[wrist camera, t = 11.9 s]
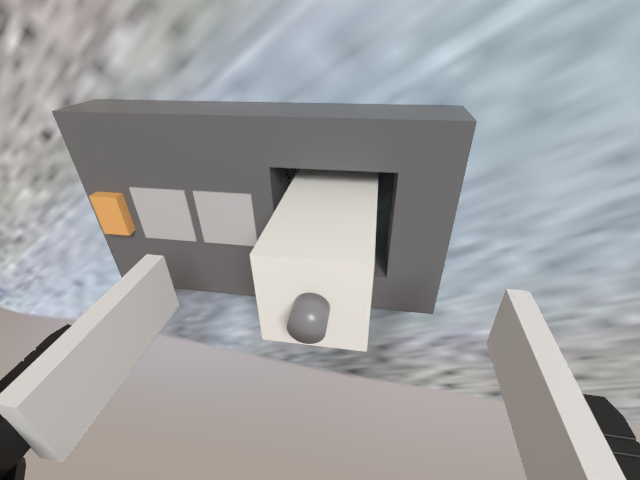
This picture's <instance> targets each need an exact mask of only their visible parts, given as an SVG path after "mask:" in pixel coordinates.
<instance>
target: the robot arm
mask: <svg viewBox="0 0 640 480" xmlns="http://www.w3.org/2000/svg"><path fill="white" fill-rule="evenodd" d="M178 307H179V302H178V299H177V296H176V293H175V290H174V287H173V283H172V280H171V277H170V274H169V271H168V268H167V265H166V261H165V258H164V256H161V255H151V254H146V255H145V256H144V257H143V258H142V259H141V260H140V261H139V262H138V263H137V264H136V265H135V266H134V267H133V268H132V269H131V270H130V271H128V272H127V273H126V274H125V275H124V276H123V277H122V278H121V279H120V280H119V281H118V282H117V283H116V284H115V285H114V286H113V287H112V288H111V289H110V290H109V291H107V292H106V293H105V294H104V295H103V296H102V297H101V298H100V299H99V300H98V301H97V302H96V303H95V304H94V305H93V306H92V307H91V308H90V309H89V310H88V311H86V312H85V313H84V314H83V315H82V316H81V317H80V318H79V319H78V320H77V321H76V322H75V323H74V324H73V325H68V324H67V325H66V326H64V327H62V328H61V329H59V330H57V331H56V332H54V333H52V334H51V335H50V336H48V338H46V339H45V340H44V341H43V342H42V343H41V344H40V345H39V346H37V347H36V350H35V351H32V352H31V353H30V354H29V355H28V356H27V357H26V358H24V361H21V362H20V363H19V364H18V365H17V366H16V367H15V368H14V369H13V370H11V371H10V372H9V373H8V374H7V375H6V376H5V377H4V378H3V379H2V380H0V480H24V476H25V469H26V462H25V458H24V457H23V456H24V455H25V453H26V452H27V451H28V450H29V449H30V448H32V450H33V451H34V452H35V453H36V454H37V455H38V456H39V457H40V458H43V459H48V460H53V461H57V462H63V461H64V460H65V459H66V457H67V456H68V455H69V453H70V452H71V451H72V449H73V448H74V447H75V445H76V444H77V443H78V441H79V440H80V439H81V437H82V436H83V435H84V433H85V432H86V430H87V429H88V428H89V426H90V425H91V424H92V422H93V421H94V419H95V418H96V417H97V416H98V414H99V413H100V412H101V410H102V409H103V408H104V406H105V405H106V404H107V402H108V401H109V400H110V398H111V397H112V396H113V394H114V393H115V391H116V390H117V389H118V388H119V386H120V385H121V383H122V382H123V381H124V379H125V378H126V377H127V375H128V374H129V373H130V371H131V370H132V369H133V367H134V366H135V365H136V363H137V362H138V361H139V359H140V358H141V357H142V355H143V354H144V352H145V351H146V350H147V348H148V347H149V346H150V344H151V343H152V342H153V341H154V339H155V338H156V336H157V335H158V334H159V332H160V331H161V330H162V328H163V327H164V326H165V324H166V323H167V322H168V320H169V319H170V318H171V316H172V315H173V314H174V312H175V311H176V310H177V308H178ZM487 345H488V349H489V352H490V355H491V359H492V362H493V366H494V369H495V372H496V376H497V379H498V382H499V386H500V389H501V393H502V396H503V399H504V403H505V406H506V409H507V413H508V416H509V419H510V423H511V426H512V430H513V433H514V436H515V440H516V443H517V447H518V450H519V453H520V457H521V460H522V463H523V467H524V470H525V474H526V477H527V480H640V444H639V442H637V441H636V437H635V435H634V434H633V432H632V430H631V428H630V427H629V425H628V423H627V422H626V420H625V418H624V417H623V415H622V414H621V413H620V412H619V411H618V410H617V409H616V408H615V407H614V406H613V405H612V404H611V403H610V402H609V401H608V400H607V399H606V398H605V397H601V396H593V395H586V394H582V392H581V390H580V388H579V386H578V384H577V383H576V381H575V379H574V377H573V375H572V373H571V371H570V369H569V367H568V365H567V363H566V361H565V359H564V357H563V355H562V353H561V351H560V349H559V347H558V345H557V343H556V341H555V340H554V338H553V336H552V334H551V332H550V330H549V328H548V326H547V324H546V322H545V320H544V318H543V316H542V314H541V312H540V310H539V308H538V306H537V304H536V302H535V300H534V299H533V297H532V295H531V293H530V291H523V290H513V289H506V291H505V293H504V296H503V299H502V302H501V304H500V307H499V310H498V313H497V316H496V318H495V321H494V324H493V327H492V329H491V332H490V335H489V338H488V340H487Z"/></svg>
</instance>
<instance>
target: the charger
mask: <svg viewBox="0 0 640 480" xmlns="http://www.w3.org/2000/svg"><path fill="white" fill-rule="evenodd" d="M378 175H379V172H366V171H344V170H321V169H299V170H298V172H297V173H296V175H295V177H294V178H293V180H292V182H291V184H290V185H289V187H288V189H287V191H286V192H285V194H284V196H283V198H282V199H281V201H280V203H279V205H278V206H277V208H276V210H275V211H274V213H273V215H272V217H271V218H270V220H269V222H268V224H267V225H266V227H265V229H264V231H263V232H262V234H261V236H260V237H259V239H258V241H257V243H256V244H255V246H254V248H253V250H252V251H251V253H250V261H251V268H252V274H253V281H254V287H255V293H256V300H257V306H258V313H259V319H260V326H261V332H262V339H263V340H272V341H280V342H289V343H297V344H306V345H314V346H322V347H331V348H339V349H348V350H356V351H364V352H367V344H368V332H369V321H370V310H371V298H372V287H373V276H374V264H375V242H376V219H377V197H378Z"/></svg>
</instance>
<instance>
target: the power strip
mask: <svg viewBox="0 0 640 480" xmlns="http://www.w3.org/2000/svg"><path fill="white" fill-rule="evenodd" d="M52 112H53V115H54V117H55V120H56V122H57V124H58V127H59V129H60V131H61V134H62V136H63V139H64V141H65V143H66V146H67V148H68V151H69V153H70V155H71V158H72V160H73V162H74V165H75V167H76V170H77V172H78V174H79V177H80V179H81V182H82V184H83V186H84V189H85V191H86V193H87V196H88V198H89V201H90V203H91V205H92V208H93V210H94V212H95V215H96V217H97V220H98V222H99V224H100V227H101V229H102V232H103V234H104V236H105V239H106V241H107V243H108V246H109V248H110V251H111V253H112V255H113V258H114V260H115V263H116V265H117V267H118V270H119V272H120V274H121V277H123V276H124V275H125V274H126V273H127V272H128V271H130V270H131V269H132V268H133V267H134V266H135V265H136V264H137V263H138V262H139V261H140V260H141V259H142V258H143V257H144V256H145V255H146V254H151V255H161V256H164V258H165V261H166V265H167V268H168V271H169V274H170V277H171V280H172V283H173V287H174V288H180V289H190V290H199V291H209V292H219V293H229V294H239V295H249V296H256V293H255V287H254V281H253V274H252V268H251V261H250V253H251V251H252V250H253V248H254V246H255V244H256V243H257V241H258V239H259V237H260V236H261V234H262V232H263V231H264V229H265V227H266V225H267V224H268V222H269V220H270V218H271V217H272V215H273V213H274V211H275V210H276V208H277V206H278V205H279V203H280V201H281V199H282V198H283V196H284V194H285V192H286V191H287V179H286V168H299V169H321V170H344V171H366V172H388V173H394V182H393V192H392V201H391V210H390V219H389V228H388V238H387V247H386V248H380V247H375V264H374V276H373V287H372V298H371V308H378V309H388V310H398V311H408V312H417V313H427V314H433V312H434V307H435V303H436V298H437V294H438V289H439V285H440V281H441V276H442V272H443V267H444V263H445V259H446V254H447V250H448V245H449V241H450V236H451V232H452V228H453V223H454V219H455V214H456V210H457V205H458V201H459V197H460V192H461V188H462V183H463V179H464V175H465V170H466V166H467V161H468V157H469V152H470V148H471V144H472V139H473V135H474V130H475V126H476V120H475V119H474V118H473V117H472V115H471V114H470V113H469V112H468V111H467V110H466V109H465V108H464V106H444V105H386V104H329V103H271V102H213V101H156V100H98V99H94V100H91V101H87V102H84V103H80V104H76V105H73V106H69V107H66V108H62V109H58V110H55V111H52Z"/></svg>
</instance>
